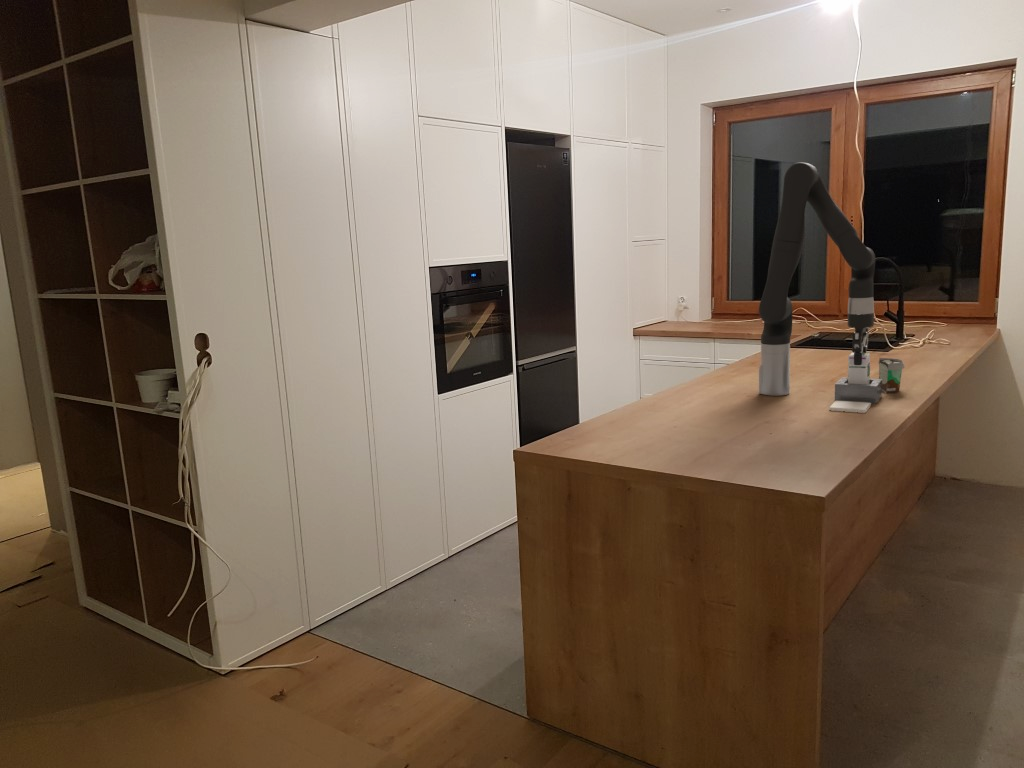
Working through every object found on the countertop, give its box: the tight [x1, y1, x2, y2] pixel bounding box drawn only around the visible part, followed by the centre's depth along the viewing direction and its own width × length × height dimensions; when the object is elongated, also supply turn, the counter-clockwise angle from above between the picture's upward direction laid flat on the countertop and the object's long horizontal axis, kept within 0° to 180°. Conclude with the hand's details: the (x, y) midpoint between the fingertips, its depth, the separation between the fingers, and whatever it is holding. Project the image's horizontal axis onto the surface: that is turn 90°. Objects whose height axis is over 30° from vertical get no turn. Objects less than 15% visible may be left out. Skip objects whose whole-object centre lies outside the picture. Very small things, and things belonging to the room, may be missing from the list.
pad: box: [829, 400, 872, 414], centre depth 232 cm, size 10×10×1 cm
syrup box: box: [847, 352, 871, 385], centre depth 242 cm, size 6×6×14 cm
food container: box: [878, 357, 905, 394], centre depth 252 cm, size 12×6×10 cm, turn 168°
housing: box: [834, 376, 883, 405], centre depth 243 cm, size 12×12×6 cm
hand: (860, 362), depth 241 cm, fingers open, 8 cm apart
